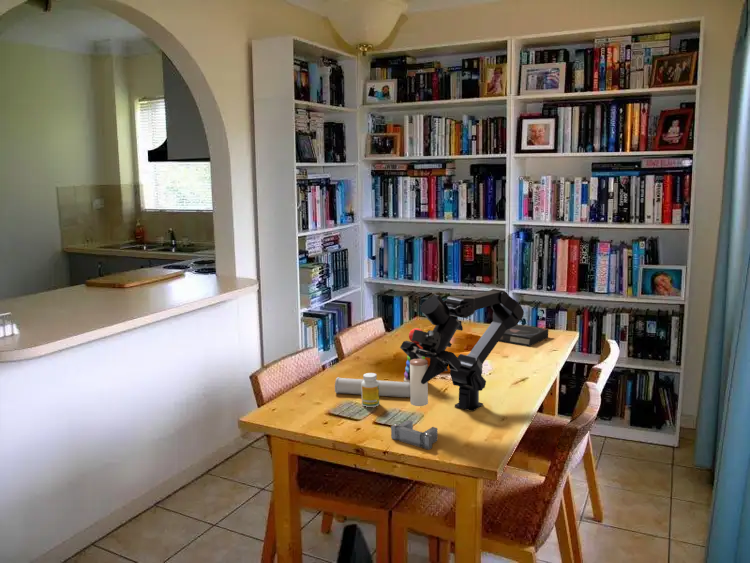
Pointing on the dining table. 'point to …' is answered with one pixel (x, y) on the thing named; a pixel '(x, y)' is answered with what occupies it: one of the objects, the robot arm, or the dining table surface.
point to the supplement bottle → (370, 390)
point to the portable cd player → (524, 335)
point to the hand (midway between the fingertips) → (415, 381)
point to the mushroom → (418, 382)
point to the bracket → (414, 435)
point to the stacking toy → (409, 357)
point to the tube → (384, 387)
